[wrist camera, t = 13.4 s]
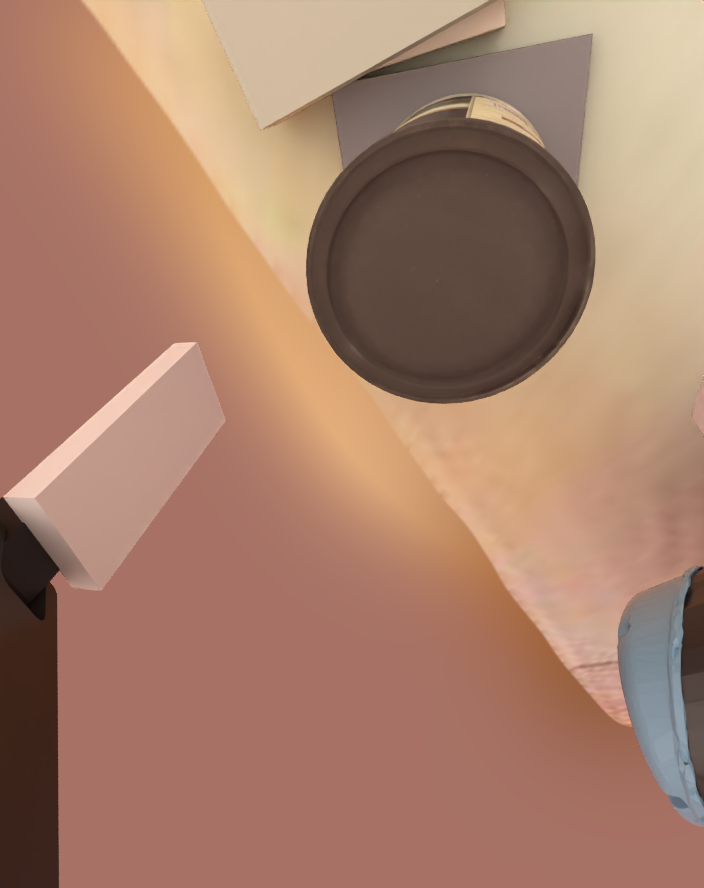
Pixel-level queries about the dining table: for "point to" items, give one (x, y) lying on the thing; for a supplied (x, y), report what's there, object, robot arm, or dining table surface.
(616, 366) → the dining table surface
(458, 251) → the coffee can
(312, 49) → the upper offcut
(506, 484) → the dining table surface
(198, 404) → the robot arm
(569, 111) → the slate mat
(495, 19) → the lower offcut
